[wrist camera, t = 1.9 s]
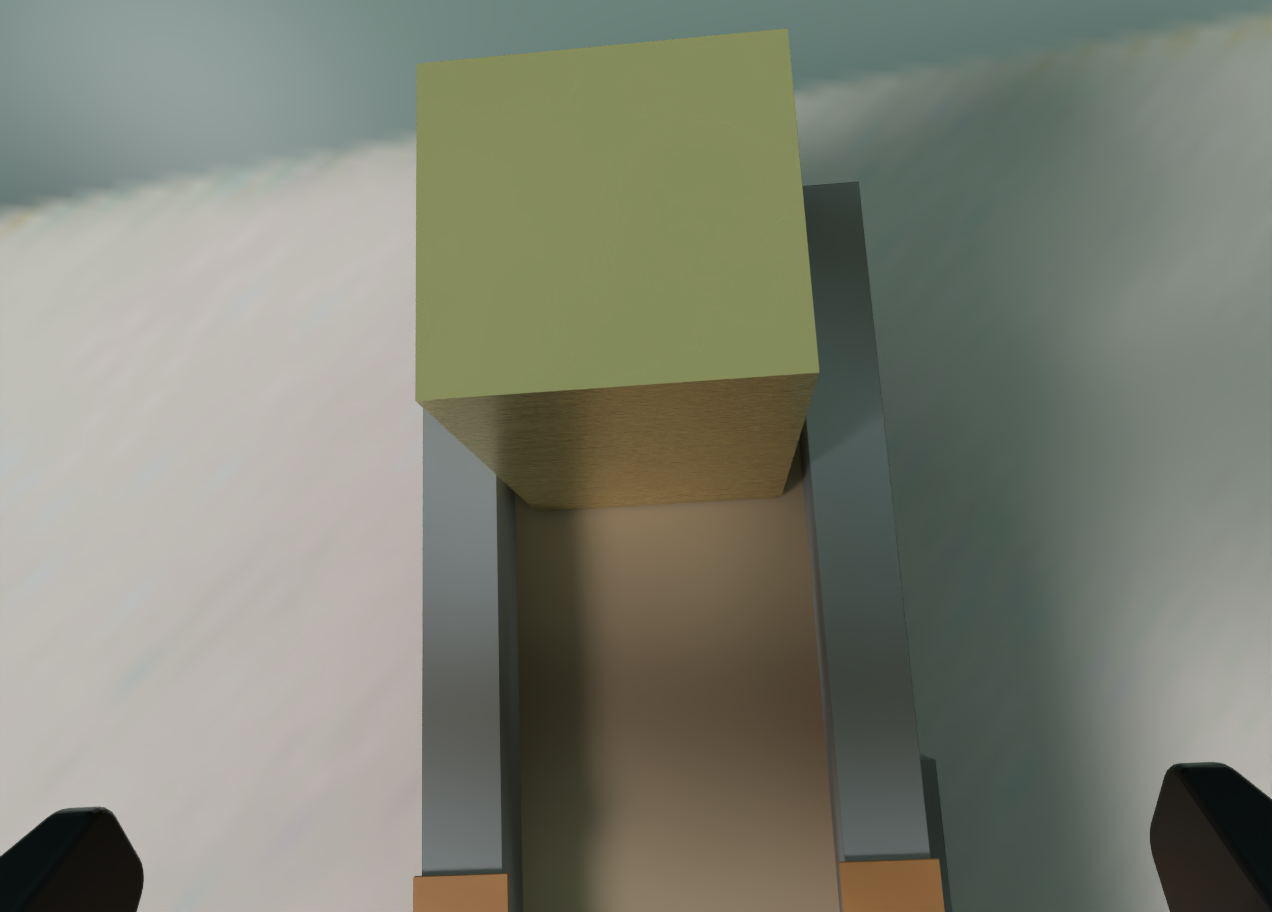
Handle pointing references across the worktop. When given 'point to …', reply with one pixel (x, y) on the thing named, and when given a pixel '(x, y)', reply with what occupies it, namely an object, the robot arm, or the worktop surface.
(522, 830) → the grey open tray
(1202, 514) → the worktop surface
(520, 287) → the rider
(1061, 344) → the worktop surface
